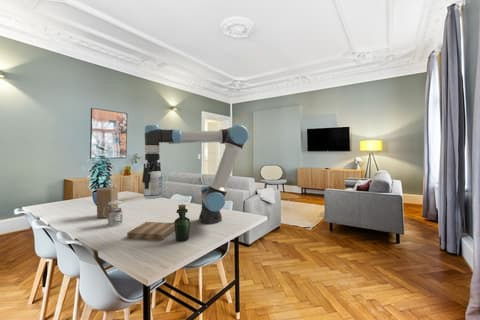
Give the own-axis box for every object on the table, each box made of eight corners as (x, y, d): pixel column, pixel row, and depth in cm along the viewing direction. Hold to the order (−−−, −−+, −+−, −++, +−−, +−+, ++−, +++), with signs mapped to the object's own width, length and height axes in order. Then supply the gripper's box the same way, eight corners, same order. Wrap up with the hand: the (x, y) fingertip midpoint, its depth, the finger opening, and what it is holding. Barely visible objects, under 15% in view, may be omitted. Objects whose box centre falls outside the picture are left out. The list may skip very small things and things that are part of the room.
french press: (126, 224, 137) (126, 185, 136) (106, 229, 128) (105, 187, 127) (121, 220, 143) (120, 183, 142) (101, 225, 135) (100, 185, 134)
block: (104, 214, 158) (103, 187, 158) (118, 214, 159) (117, 187, 158) (96, 218, 148) (95, 189, 148) (111, 218, 149) (111, 189, 148)
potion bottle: (190, 241, 110) (190, 206, 109) (174, 243, 108) (173, 207, 107) (189, 235, 118) (189, 203, 117) (174, 237, 116) (173, 204, 115)
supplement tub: (163, 198, 120) (163, 171, 119) (145, 200, 115) (144, 172, 114) (159, 195, 128) (159, 170, 127) (142, 197, 123) (141, 171, 122)
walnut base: (177, 228, 130) (177, 223, 130) (162, 240, 112) (162, 234, 112) (146, 226, 132) (145, 221, 132) (127, 238, 114) (127, 232, 114)
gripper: (156, 153, 132) (156, 189, 133) (133, 153, 110) (134, 196, 111) (167, 153, 131) (168, 189, 132) (147, 153, 109) (148, 197, 110)
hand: (152, 193), depth 121 cm, fingers closed on supplement tub, 9 cm apart
